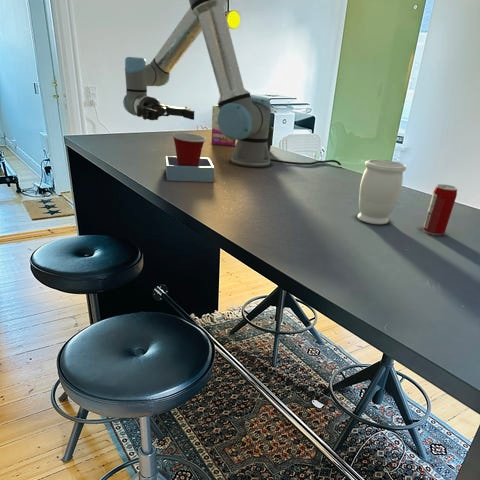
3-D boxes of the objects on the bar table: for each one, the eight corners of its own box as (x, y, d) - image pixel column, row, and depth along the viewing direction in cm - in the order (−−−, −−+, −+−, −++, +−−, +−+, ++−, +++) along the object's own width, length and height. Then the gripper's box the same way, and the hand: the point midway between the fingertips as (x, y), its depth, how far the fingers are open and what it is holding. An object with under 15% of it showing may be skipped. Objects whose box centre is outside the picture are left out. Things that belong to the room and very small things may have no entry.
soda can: (448, 235, 114) (464, 188, 108) (431, 236, 113) (445, 188, 107) (435, 228, 119) (449, 182, 113) (417, 228, 117) (431, 182, 111)
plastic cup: (189, 178, 142) (190, 139, 136) (165, 172, 147) (165, 133, 141) (211, 174, 150) (212, 136, 144) (187, 168, 155) (188, 131, 149)
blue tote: (208, 171, 157) (209, 158, 154) (213, 182, 144) (214, 167, 142) (165, 169, 154) (165, 156, 152) (167, 180, 141) (166, 165, 139)
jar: (385, 229, 115) (400, 169, 107) (348, 220, 119) (359, 162, 112) (396, 219, 123) (411, 163, 115) (360, 211, 127) (372, 157, 120)
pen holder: (251, 148, 204) (253, 124, 199) (271, 150, 203) (273, 126, 198) (248, 151, 196) (250, 127, 191) (269, 153, 195) (272, 129, 190)
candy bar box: (236, 145, 209) (239, 106, 200) (234, 146, 204) (237, 107, 196) (213, 142, 210) (214, 104, 201) (211, 144, 206) (212, 105, 197)
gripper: (178, 118, 170) (207, 127, 155) (115, 119, 157) (140, 128, 142) (178, 97, 166) (207, 103, 151) (114, 95, 153) (139, 102, 138)
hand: (175, 115), depth 147 cm, fingers open, 13 cm apart
